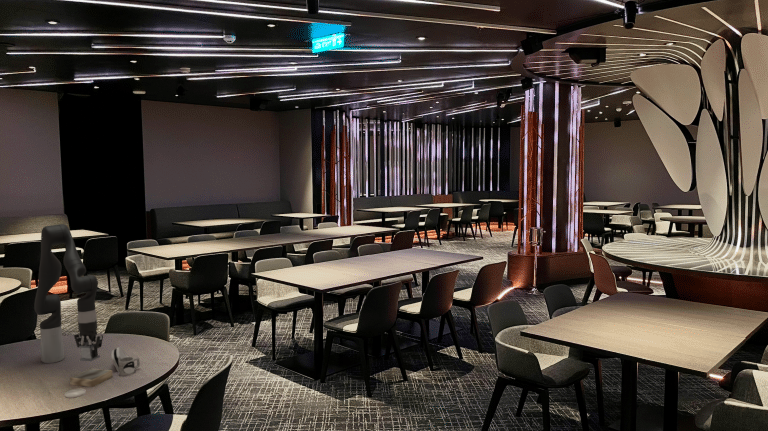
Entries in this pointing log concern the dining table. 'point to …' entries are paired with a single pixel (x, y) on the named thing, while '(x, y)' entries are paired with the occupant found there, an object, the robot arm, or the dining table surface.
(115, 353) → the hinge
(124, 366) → the mug
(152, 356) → the dining table surface
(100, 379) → the wooden framed mirror
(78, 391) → the white smooth dome part
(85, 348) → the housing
